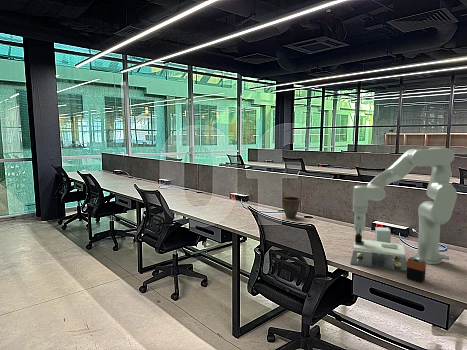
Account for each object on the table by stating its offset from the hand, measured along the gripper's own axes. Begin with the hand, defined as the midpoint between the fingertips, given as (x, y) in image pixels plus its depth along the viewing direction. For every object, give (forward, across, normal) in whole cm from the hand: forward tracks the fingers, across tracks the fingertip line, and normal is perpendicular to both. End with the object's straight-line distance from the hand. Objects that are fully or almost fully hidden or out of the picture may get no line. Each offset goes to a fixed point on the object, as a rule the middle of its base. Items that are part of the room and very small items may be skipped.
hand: (358, 241), depth 173 cm
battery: (+9, -17, -26) cm, 33 cm away
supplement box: (+9, +20, -12) cm, 25 cm away
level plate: (+3, 0, -10) cm, 11 cm away
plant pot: (+10, +76, +57) cm, 96 cm away
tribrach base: (+9, 0, -10) cm, 14 cm away
